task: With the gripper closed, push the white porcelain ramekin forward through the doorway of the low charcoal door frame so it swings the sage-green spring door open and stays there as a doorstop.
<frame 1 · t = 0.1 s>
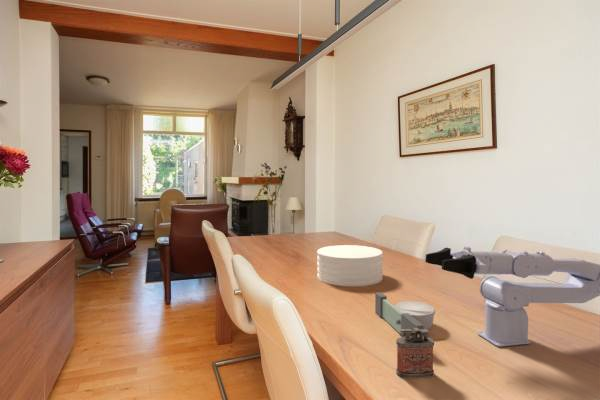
hand: (434, 261, 89), 22 cm above the table, tool horizontal, fingers open, 7 cm apart
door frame: (393, 326, 102), on the table
plate stack: (349, 277, 155), on the table
lighter: (414, 374, 77), on the table
ramekin: (414, 326, 103), on the table
door: (392, 316, 102), point 3 cm above the table, hinge at 0.0°
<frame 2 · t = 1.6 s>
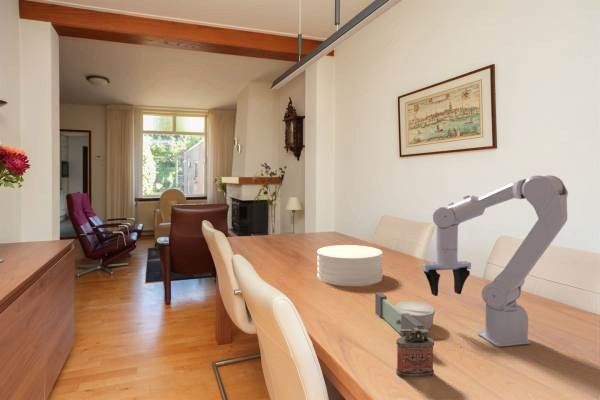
hand: (446, 294, 104), 8 cm above the table, tool pointing down, fingers open, 7 cm apart
nothing on the table moved.
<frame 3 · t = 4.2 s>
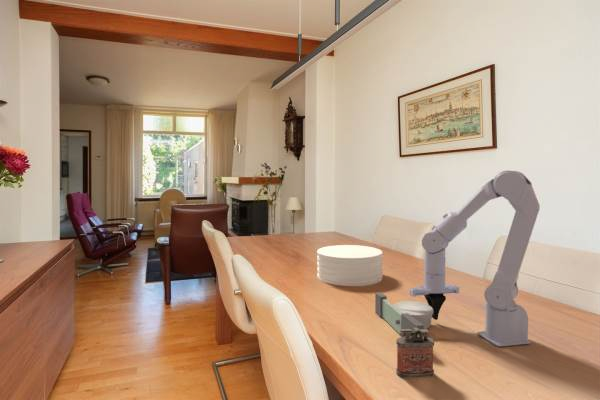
hand: (434, 318, 104), 1 cm above the table, tool pointing down, fingers closed
ramekin: (412, 325, 103), on the table, touching door, gripper
door: (391, 316, 102), point 3 cm above the table, hinge at 1.0°, touching ramekin
everything else where it was.
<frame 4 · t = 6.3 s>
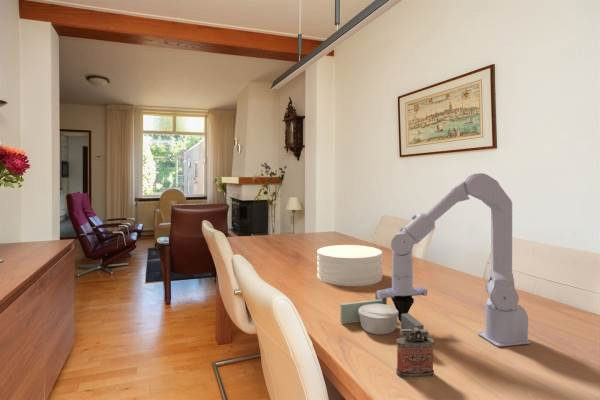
hand: (402, 321, 102), 1 cm above the table, tool pointing down, fingers closed
ramekin: (378, 328, 101), on the table, touching gripper
door: (361, 310, 106), point 3 cm above the table, hinge at 83.1°
everything else where it was.
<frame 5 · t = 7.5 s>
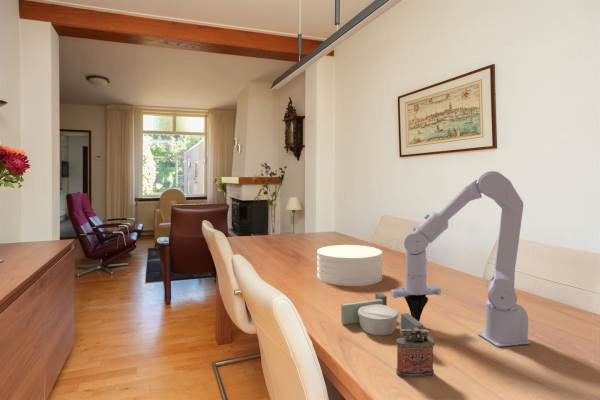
hand: (415, 320, 103), 1 cm above the table, tool pointing down, fingers closed
ramekin: (377, 329, 101), on the table
door: (361, 310, 106), point 3 cm above the table, hinge at 80.8°
everything else where it was.
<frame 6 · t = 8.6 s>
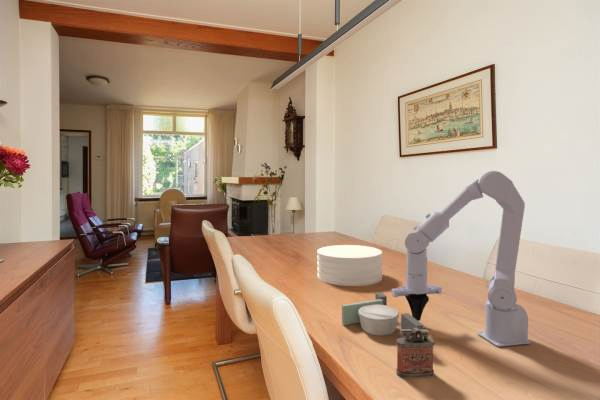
hand: (416, 319, 103), 2 cm above the table, tool pointing down, fingers closed
door: (362, 311, 106), point 3 cm above the table, hinge at 79.0°
everything else where it was.
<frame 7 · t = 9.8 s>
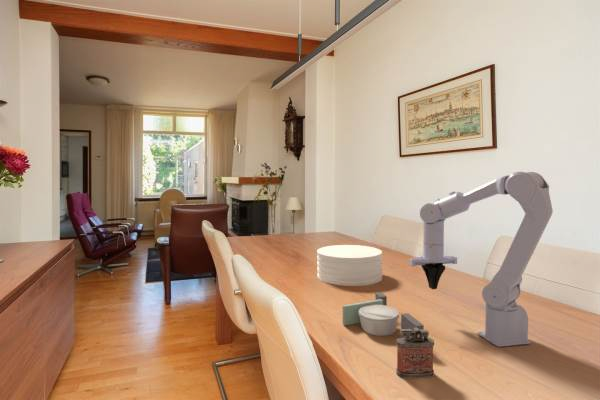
hand: (432, 288, 107), 9 cm above the table, tool pointing down, fingers closed
door: (362, 311, 106), point 3 cm above the table, hinge at 77.4°
everything else where it was.
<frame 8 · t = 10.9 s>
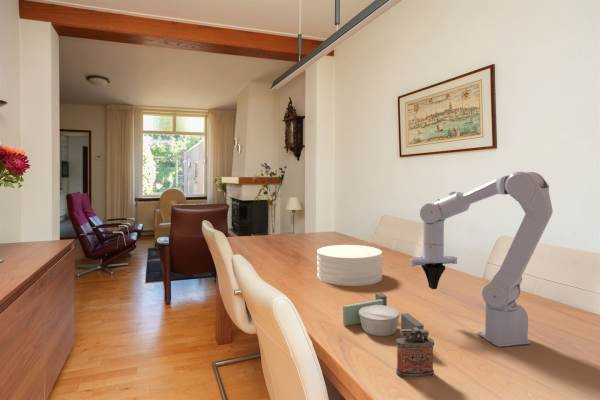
hand: (432, 288, 107), 9 cm above the table, tool pointing down, fingers closed
door: (362, 311, 106), point 3 cm above the table, hinge at 76.3°
everything else where it was.
at the end: door at +76° (first picture: +0°); ramekin inside the target area (0.4 cm from its centre), on the table; ramekin tilted 0° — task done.
